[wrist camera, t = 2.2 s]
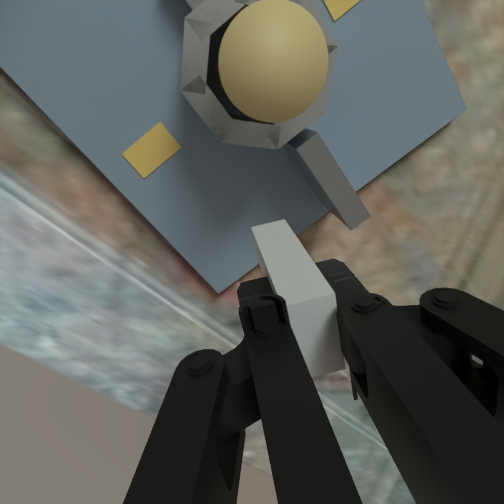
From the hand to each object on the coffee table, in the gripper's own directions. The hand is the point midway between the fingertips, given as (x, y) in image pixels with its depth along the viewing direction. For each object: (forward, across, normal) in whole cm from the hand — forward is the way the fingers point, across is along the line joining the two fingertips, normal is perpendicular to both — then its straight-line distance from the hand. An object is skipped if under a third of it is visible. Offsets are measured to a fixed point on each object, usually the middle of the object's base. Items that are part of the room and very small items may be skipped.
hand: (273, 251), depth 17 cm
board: (+12, +2, +7) cm, 14 cm away
